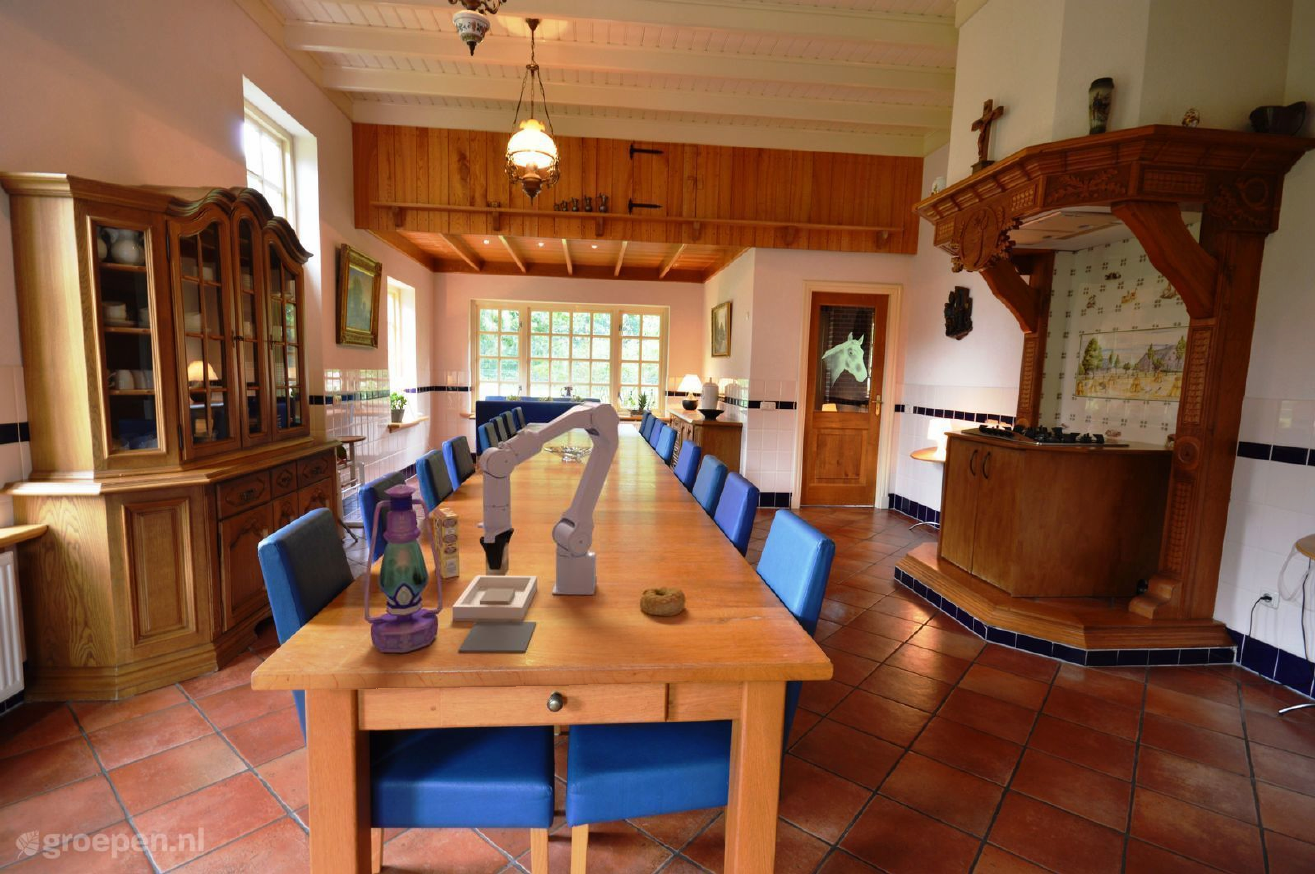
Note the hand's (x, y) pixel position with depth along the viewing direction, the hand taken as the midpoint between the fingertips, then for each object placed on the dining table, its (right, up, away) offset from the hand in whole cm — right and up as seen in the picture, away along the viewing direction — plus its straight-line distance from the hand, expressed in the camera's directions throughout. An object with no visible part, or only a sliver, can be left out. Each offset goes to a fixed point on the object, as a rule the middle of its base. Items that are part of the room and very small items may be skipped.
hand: (497, 565), depth 129 cm
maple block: (0, -2, 0) cm, 2 cm away
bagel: (+36, -10, +1) cm, 37 cm away
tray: (0, -9, +1) cm, 9 cm away
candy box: (-18, -6, +19) cm, 27 cm away
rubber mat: (+4, -11, -15) cm, 19 cm away
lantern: (-13, -11, -17) cm, 24 cm away
